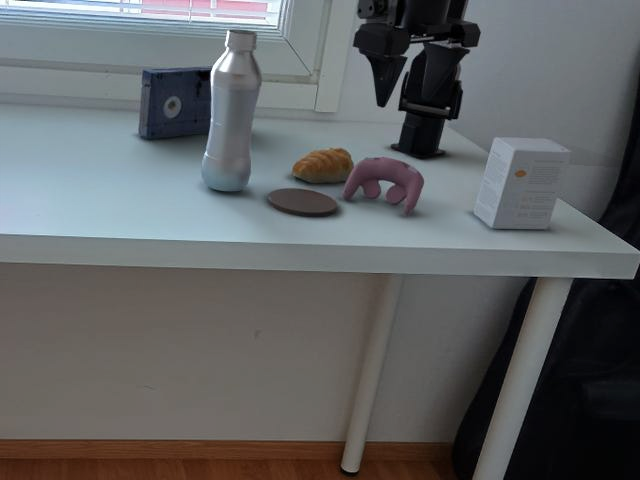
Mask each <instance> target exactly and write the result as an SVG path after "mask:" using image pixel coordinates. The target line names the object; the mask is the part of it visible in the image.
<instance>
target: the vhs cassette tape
mask: <svg viewBox="0 0 640 480" xmlns="http://www.w3.org/2000/svg"><path fill="white" fill-rule="evenodd" d="M213 67H214V65H210V66H208V65H207V66H187V67H170V68H151V69H150V68H149V69H142V75H141V87H140V88H141V89H140V103H139V115H138V119H139V120H138V121H139V122H138V130H137V131H138V135H139V136H141V137H142V138H144V139H146V140H153V139H161V138H162V139H163V138H170V137H180V136H190V135H202V134H209V131H210V125H211V117H212V116H211V106H212V99H211V72H212V69H213Z"/></svg>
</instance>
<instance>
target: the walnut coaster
mask: <svg viewBox="0 0 640 480" xmlns="http://www.w3.org/2000/svg"><path fill="white" fill-rule="evenodd" d="M267 202H268V204H269V205H271V207H273V208H274V209H276V210H278V211H281V212H283V213H286V214H290V215H294V216H298V217H299V216H300V217H306V218H321V217H328V216H331V215H333V214H334V213H335V212H336V211H337V208H338V202H337V201H336V200H335V199H334V198H333V197H331V196H329V195H327V194H325V193H322V192H319V191H315V190H311V189H307V188H306V189H305V188H296V187H295V188H294V187H293V188H291V187H288V188H286V187H285V188H278V189H275V190H272V191H271V192H270V193H268V197H267Z"/></svg>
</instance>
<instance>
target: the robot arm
mask: <svg viewBox="0 0 640 480" xmlns="http://www.w3.org/2000/svg"><path fill="white" fill-rule="evenodd" d="M468 5H469V0H358V1H357V5H356V16H357V17H358V18H359V20H363V21H364V23H361V24H360V25H359V26H358V27H357V28H356V29H355V30H354V35H353V39H352V47H353V48H357V49H358V52H359V54H360V55H363V56H364V57H365V58H366V59H367V61H368V62H369V64H370V67H371V72H372V78H373V86H374V92H375V100H376V106H377V107H379V108H381V109H382V108H383V109H384V108H386V106H387V104H388V103H389V100H390V98H391V97H392V96H393V95H392V94H393V91H394V90H395V88H396V85H397V83H398V81H399V79H400V77H401V74H402V72H403V70H404V68H405V66H406V63H407V61H408V59H409V58H408V56H405V54H406V52H408V50H409V49H410V46H411V45H415V44H422V46H423V48H422V50H421V51H420V52H419V53H418V54H417V55H416V56H415V57H414V58H413V59H412V60H411V63H410V67H409V71H408V70H407V71H405V74H404V76H403V79H402V83H401V86H400V87H401V88H400V94H399V100H398V106H397V111H398V112H405V116H404V120H403V122H402V126H401V130H400V135H399V139H398V143H397V142H396V143H391V144H390V148H391V149H393V150H396V151H398V152H401V153H404V154H406V155H409V156H412V157H415V158H418V159H427V158H433V157H438V156H444V155H446V153H447V151H446V150H444V149H441V148H439V147H440V143H441V139H442V134H443V132H444V131H443V130H444V129H445V128H444V127H445V123H446V120H447V121H449V122H451V121H452V120H459V116H460V112H461V108H462V103H463V98H464V97H463V96H464V90H463V88H462V87H463V85H462V83H463V82H462V80H461V79H460V76H461V71H462V65H461V61H463V59H464V57H465V56H466V55H470V53H471V49H470V48H477V47H478V46H479V43H480V42H479V41H480V37H481V34H482V31H481V29H480V27H479V24H478V23H475V22H472V21H468V20H465V16H466V12H467V9H468ZM447 108H449V109H447Z"/></svg>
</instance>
